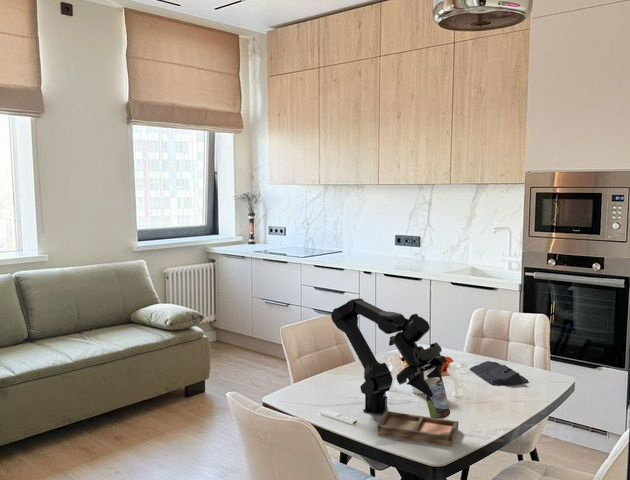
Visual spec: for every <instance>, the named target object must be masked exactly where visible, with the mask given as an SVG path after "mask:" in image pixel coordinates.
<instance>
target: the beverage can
mask: <svg viewBox="0 0 630 480" xmlns="http://www.w3.org/2000/svg"><path fill="white" fill-rule="evenodd" d="M425 381H426V383H427V385H428V386H429V388H430V390H431V392H432V394H433V396H432V397H429V396H427V395H426V394H424V396H425V397H424V398H425V399H426V400H425V401H426V404H427V409H428V412H429V413H428V414H429V415H430V417H431V418H433V419H435V420H442V419H445V420H446V419H448V417H449V416H450V415H451V409H450V406H449V400H448V397H447V393H446V388H445V389H444V387H445V385H443V384H444V381H443V382H442V381H441V380H440V378H439V377H433V378H429V379H426V380H425Z"/></svg>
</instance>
